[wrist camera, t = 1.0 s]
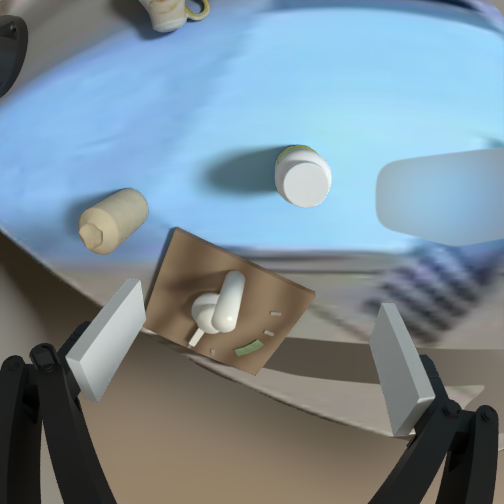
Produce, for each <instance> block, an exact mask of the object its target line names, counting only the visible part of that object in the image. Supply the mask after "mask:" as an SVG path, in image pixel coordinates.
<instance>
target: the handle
mask: <svg viewBox="0 0 504 504" xmlns="http://www.w3.org/2000/svg"><path fill="white" fill-rule="evenodd" d="M244 284H245V277H244V275H243V274H242V273H241V272H239V271H230V272H228V273H227V274H226V276H225V279H224V282H223V285H222V288H221V291H220V293H217V292H205V293H202V294H201V295H199V296H198V297H197V298H196V299H195V301H194V303H193V306H192V316H193V318H194V320H195V321H196V322H197V325H198V329H197V330H196V332H195V333H194V335H193V336H192V338H191V339H190V341H189V344H190V345H192V346H194V347H195V345H196V344H197V342H198V341H199V339H200V338H201V337H202V335H203V334H204V332H206V333H210V334H215V333H218V332H230V331H232V330H233V329H234V328H235V326H236V322H237V317H238V312H239V308H240V303H241V298H242V294H243V289H244Z"/></svg>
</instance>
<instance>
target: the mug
mask: <svg viewBox="0 0 504 504" xmlns="http://www.w3.org/2000/svg"><path fill="white" fill-rule="evenodd" d="M139 1H140V2H141V4H142V5H143V6H144V7H145V9H146V10H147V11H148V13H149V16H150V19H151V22H152V27H153V29H154V30H156V31H158V32H171V31H174V30H177V29H179V28H181V27H182V26H183V25H184V24H185V22H186V21H187V18H189V19H192V20H195V21H200V20H203V19H204V18H205V17H206V16H207V15H208V14H209V12H210V4H209V2H208V0H201V1H202V2H203V4H204V10H203V11H202V12H201V13H199V14H194V13H192V12H191V11H190V10H189V8H188V7H187V6H186V5H185V0H139Z"/></svg>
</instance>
